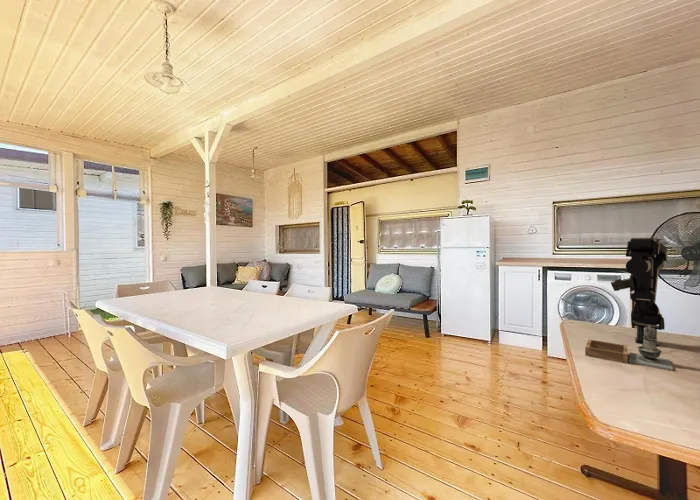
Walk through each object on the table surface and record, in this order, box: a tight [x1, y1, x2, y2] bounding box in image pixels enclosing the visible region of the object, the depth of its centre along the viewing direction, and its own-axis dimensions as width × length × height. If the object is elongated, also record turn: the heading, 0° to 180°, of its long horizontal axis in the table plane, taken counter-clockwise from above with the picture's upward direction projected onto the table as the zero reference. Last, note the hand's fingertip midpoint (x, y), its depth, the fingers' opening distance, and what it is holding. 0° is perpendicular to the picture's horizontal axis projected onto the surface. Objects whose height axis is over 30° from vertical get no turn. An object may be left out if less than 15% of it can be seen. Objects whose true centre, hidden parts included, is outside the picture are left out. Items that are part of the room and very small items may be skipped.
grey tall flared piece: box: [636, 324, 662, 363], centre depth 102 cm, size 6×6×12 cm
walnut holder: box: [584, 339, 629, 364], centre depth 109 cm, size 11×11×3 cm
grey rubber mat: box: [628, 352, 674, 372], centre depth 102 cm, size 10×10×1 cm
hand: (641, 315), depth 112 cm, fingers open, 9 cm apart
